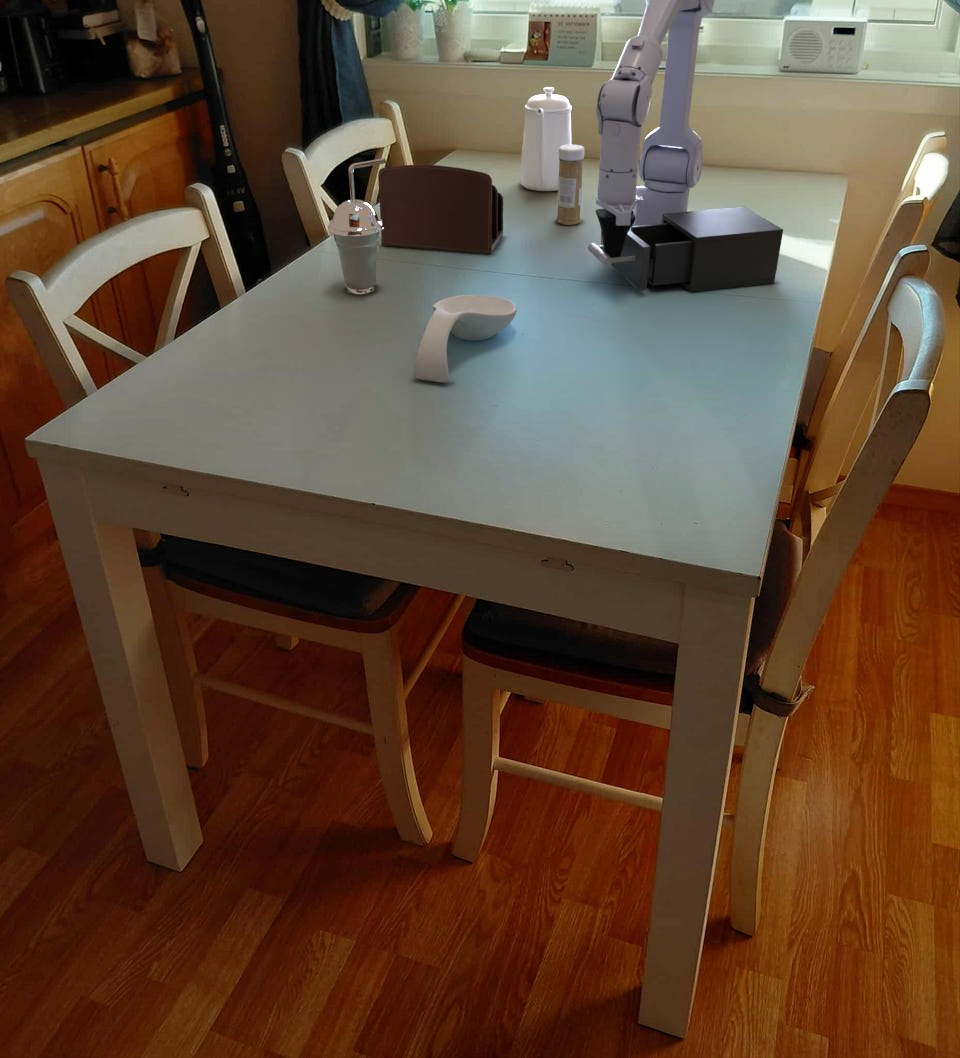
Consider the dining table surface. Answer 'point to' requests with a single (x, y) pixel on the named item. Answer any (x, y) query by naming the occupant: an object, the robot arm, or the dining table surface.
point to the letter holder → (439, 208)
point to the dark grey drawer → (651, 255)
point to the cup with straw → (357, 238)
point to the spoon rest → (459, 329)
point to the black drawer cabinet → (728, 247)
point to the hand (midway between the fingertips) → (612, 257)
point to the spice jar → (570, 184)
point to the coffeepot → (544, 140)
